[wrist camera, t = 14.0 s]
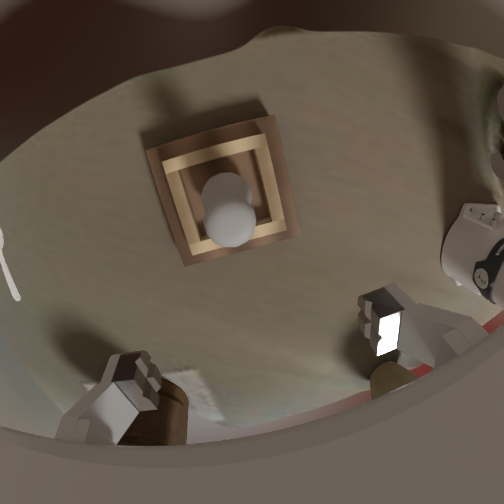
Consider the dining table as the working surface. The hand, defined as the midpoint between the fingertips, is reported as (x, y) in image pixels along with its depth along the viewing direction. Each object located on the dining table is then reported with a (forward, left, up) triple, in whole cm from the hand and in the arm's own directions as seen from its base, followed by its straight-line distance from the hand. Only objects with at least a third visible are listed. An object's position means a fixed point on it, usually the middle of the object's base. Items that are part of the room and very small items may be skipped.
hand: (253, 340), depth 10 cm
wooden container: (+27, +37, -29) cm, 54 cm away
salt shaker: (0, 0, -26) cm, 26 cm away
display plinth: (0, 0, -29) cm, 29 cm away
